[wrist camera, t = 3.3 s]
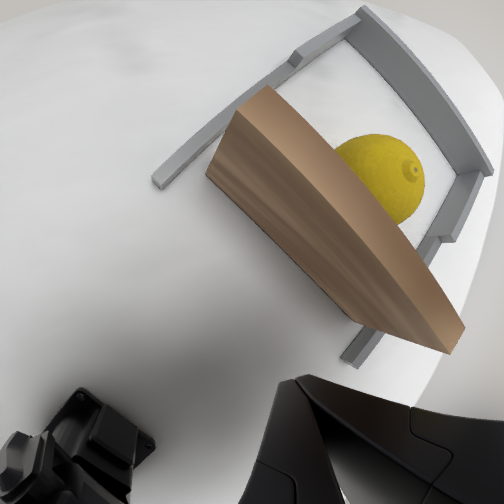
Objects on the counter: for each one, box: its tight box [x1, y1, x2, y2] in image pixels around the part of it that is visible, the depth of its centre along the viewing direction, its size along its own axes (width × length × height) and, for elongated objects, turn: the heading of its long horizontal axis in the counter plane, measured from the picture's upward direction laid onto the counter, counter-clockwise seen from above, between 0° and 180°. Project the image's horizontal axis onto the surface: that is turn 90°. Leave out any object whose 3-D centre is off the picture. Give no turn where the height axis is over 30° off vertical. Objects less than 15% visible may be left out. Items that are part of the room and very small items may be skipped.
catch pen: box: [151, 5, 494, 369], centre depth 19 cm, size 21×18×4 cm
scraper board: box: [206, 84, 465, 355], centre depth 15 cm, size 2×14×9 cm, turn 47°
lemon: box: [335, 134, 425, 225], centre depth 17 cm, size 6×6×8 cm
